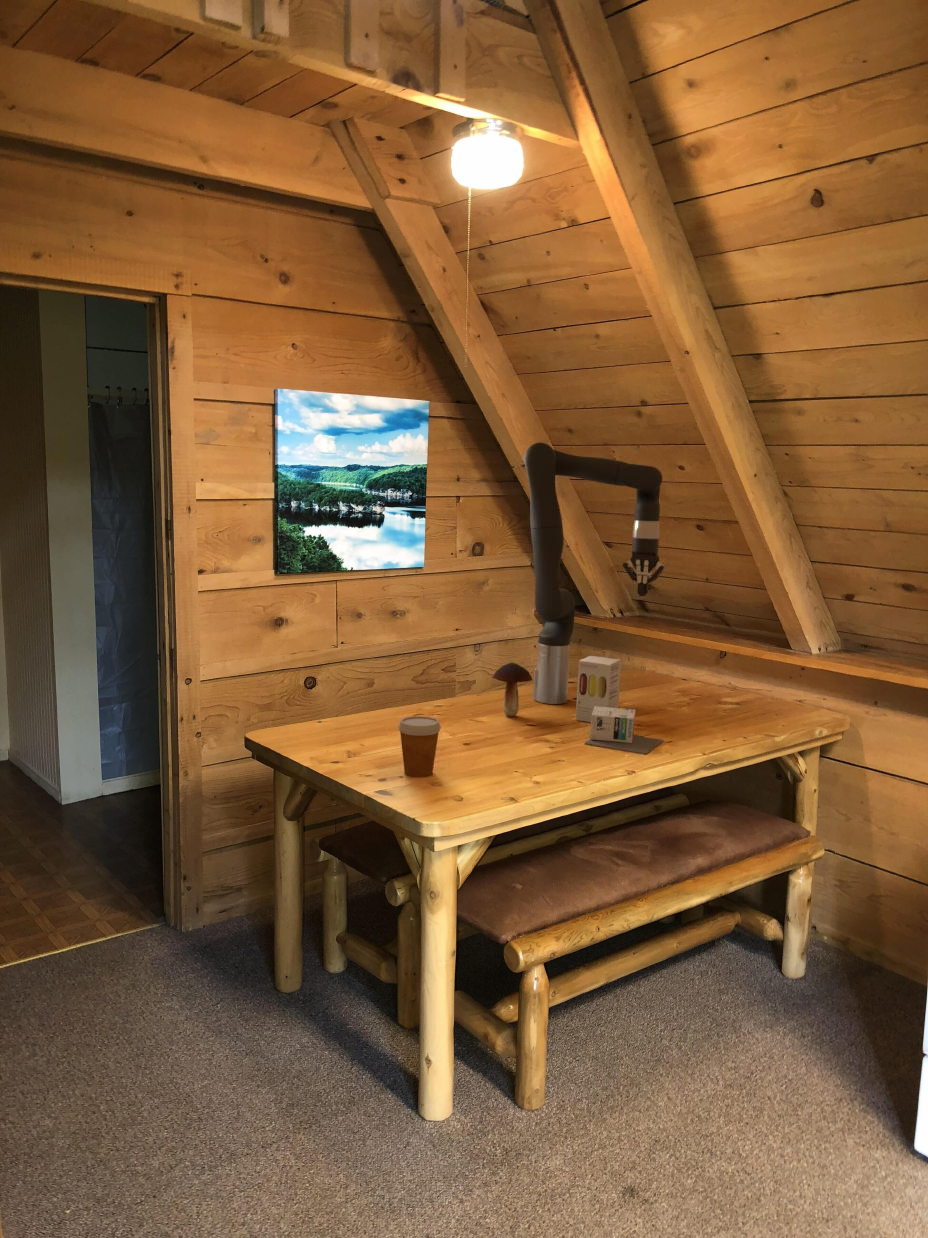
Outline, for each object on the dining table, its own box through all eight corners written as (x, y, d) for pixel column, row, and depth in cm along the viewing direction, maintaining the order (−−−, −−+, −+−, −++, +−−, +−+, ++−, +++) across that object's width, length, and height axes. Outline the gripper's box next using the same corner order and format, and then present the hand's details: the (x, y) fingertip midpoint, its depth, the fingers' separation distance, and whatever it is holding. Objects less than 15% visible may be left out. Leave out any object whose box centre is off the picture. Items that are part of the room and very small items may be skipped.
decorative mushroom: (486, 712, 278) (488, 659, 276) (523, 710, 281) (525, 658, 279) (497, 722, 268) (499, 667, 266) (536, 720, 271) (538, 666, 269)
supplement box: (574, 720, 272) (577, 660, 270) (586, 713, 280) (589, 654, 278) (607, 725, 268) (610, 664, 265) (618, 718, 276) (622, 658, 273)
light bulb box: (589, 740, 252) (632, 744, 250) (591, 714, 251) (634, 718, 249) (592, 729, 262) (634, 733, 260) (594, 704, 261) (636, 708, 259)
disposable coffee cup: (439, 766, 228) (440, 715, 226) (439, 780, 218) (441, 727, 217) (397, 766, 227) (398, 715, 226) (396, 779, 218) (397, 726, 216)
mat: (584, 744, 250) (584, 742, 249) (604, 731, 262) (604, 730, 262) (645, 754, 242) (645, 753, 242) (663, 741, 254) (663, 740, 254)
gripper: (672, 537, 286) (668, 596, 289) (628, 534, 292) (625, 592, 295) (664, 538, 279) (660, 599, 282) (619, 535, 286) (616, 595, 288)
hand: (642, 595), depth 289 cm, fingers closed
